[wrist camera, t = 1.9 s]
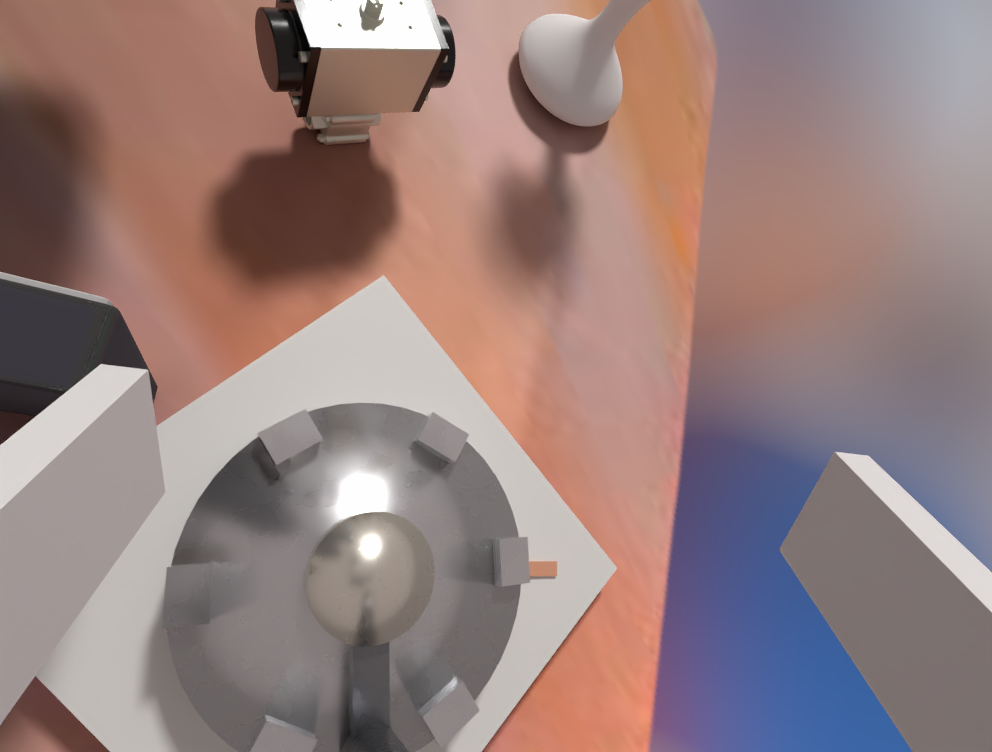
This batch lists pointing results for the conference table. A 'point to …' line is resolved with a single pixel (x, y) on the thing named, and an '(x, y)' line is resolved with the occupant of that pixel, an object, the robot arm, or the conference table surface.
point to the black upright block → (56, 342)
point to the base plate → (234, 424)
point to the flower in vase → (576, 62)
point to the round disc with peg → (345, 584)
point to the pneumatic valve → (353, 60)
